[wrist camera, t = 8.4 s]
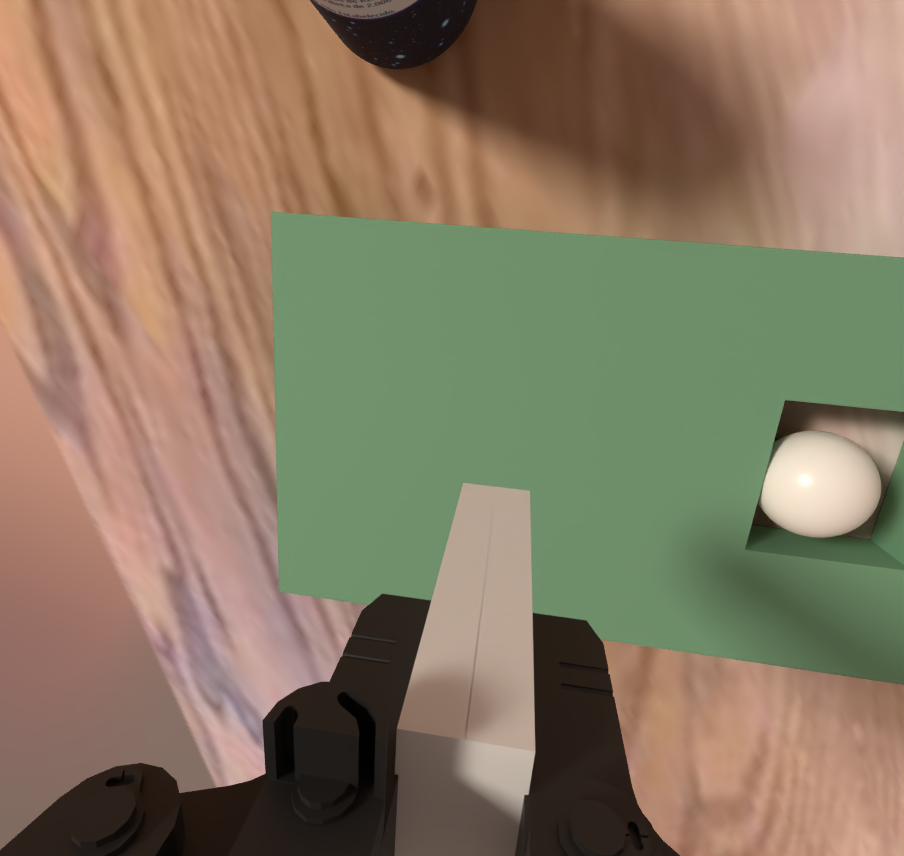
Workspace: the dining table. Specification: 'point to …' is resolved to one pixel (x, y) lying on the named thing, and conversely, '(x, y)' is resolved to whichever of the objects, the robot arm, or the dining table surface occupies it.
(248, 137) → the dining table surface
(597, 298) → the putting mat
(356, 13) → the beverage can
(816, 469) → the ball
